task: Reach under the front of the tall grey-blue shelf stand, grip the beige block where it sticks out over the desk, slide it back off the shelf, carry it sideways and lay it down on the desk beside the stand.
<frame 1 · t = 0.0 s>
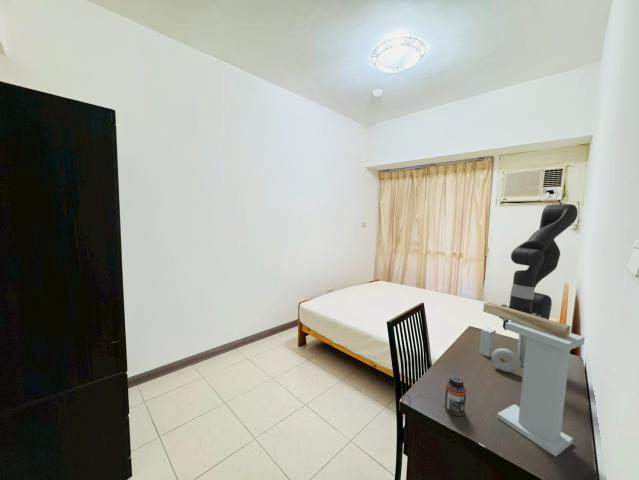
hand: (517, 333, 107), 17 cm above the table, tool pointing down, fingers open, 8 cm apart
stand: (532, 429, 78), on the table
beige block: (521, 322, 80), point 32 cm above the table, touching stand
donut: (504, 371, 109), on the table
supplement bottle: (454, 410, 85), on the table
skincare box: (486, 354, 123), on the table
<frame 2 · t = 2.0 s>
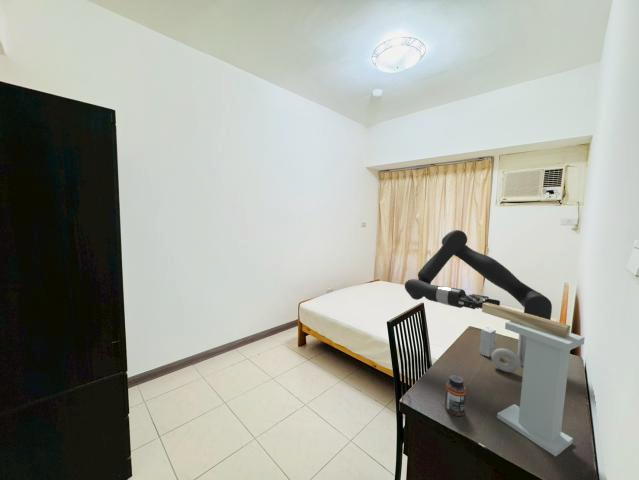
hand: (495, 305, 94), 33 cm above the table, tool horizontal, fingers open, 8 cm apart
nothing on the table moved.
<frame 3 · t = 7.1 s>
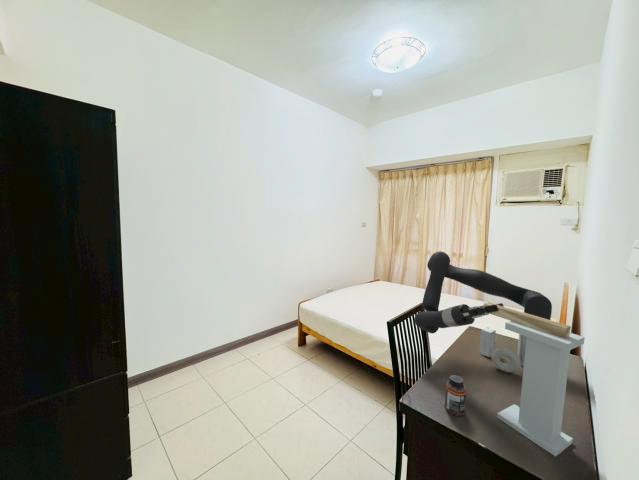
hand: (500, 306, 86), 35 cm above the table, tool pointing upward, fingers closed on beige block, 3 cm apart
beige block: (521, 322, 80), point 32 cm above the table, touching gripper, stand
everything else where it was.
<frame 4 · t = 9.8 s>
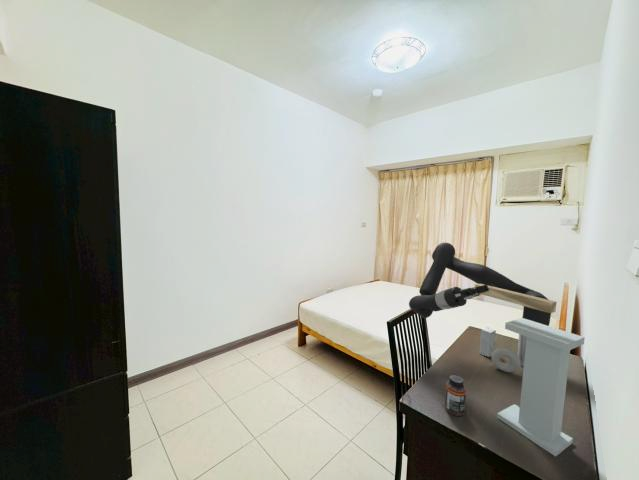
hand: (490, 287, 89), 41 cm above the table, tool pointing upward, fingers closed on beige block, 3 cm apart
beige block: (510, 301, 83), point 38 cm above the table, touching gripper
everything else where it was.
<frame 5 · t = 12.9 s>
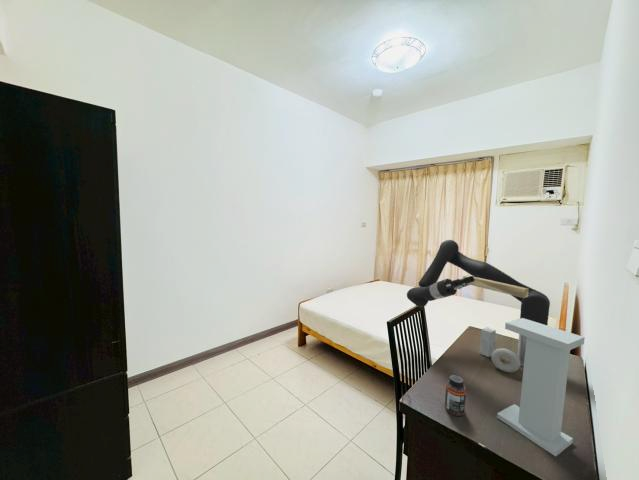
hand: (476, 278, 103), 41 cm above the table, tool pointing upward, fingers closed on beige block, 3 cm apart
beige block: (492, 289, 98), point 38 cm above the table, touching gripper
everything else where it was.
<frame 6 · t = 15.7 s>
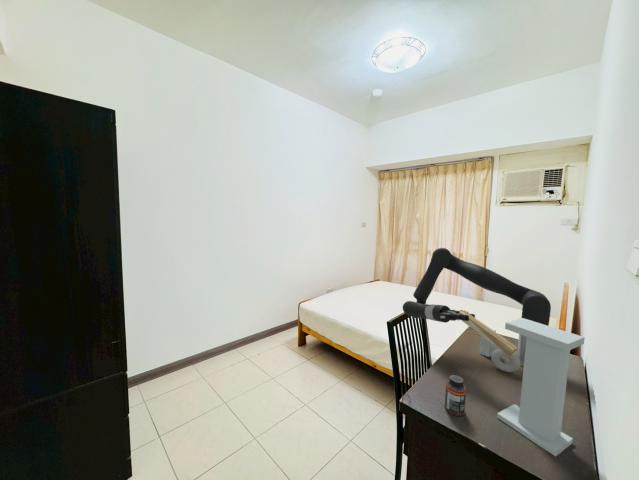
hand: (471, 317, 103), 25 cm above the table, tool horizontal, fingers closed on beige block, 3 cm apart
beige block: (483, 334, 98), point 20 cm above the table, tilted 16°, touching gripper
everything else where it was.
when the fingers open (13 cm above the table, at t = 18.3 s): beige block drops 7 cm, on the table.
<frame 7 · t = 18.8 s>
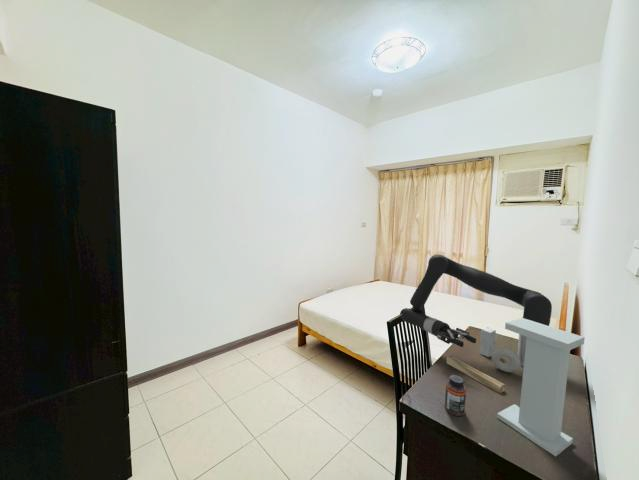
hand: (469, 342, 106), 13 cm above the table, tool horizontal, fingers open, 8 cm apart
beige block: (472, 376, 105), on the table
everything else where it was.
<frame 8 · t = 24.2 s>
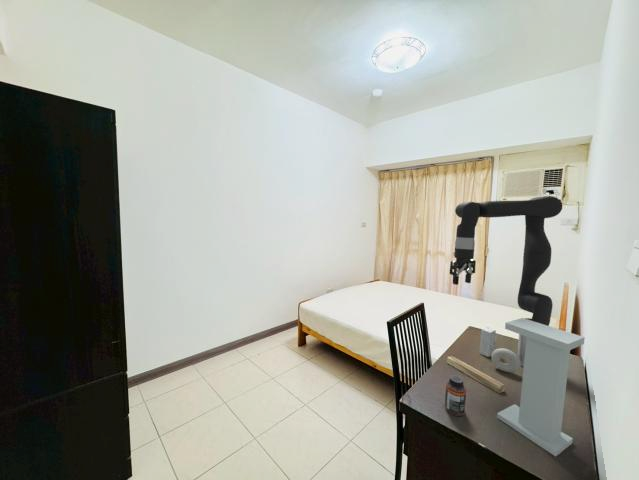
hand: (461, 283, 113), 36 cm above the table, tool pointing down, fingers open, 8 cm apart
nothing on the table moved.
at the end: beige block inside the target area (3.6 cm from its centre), on the table; beige block touching table; the gripper is holding nothing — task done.
